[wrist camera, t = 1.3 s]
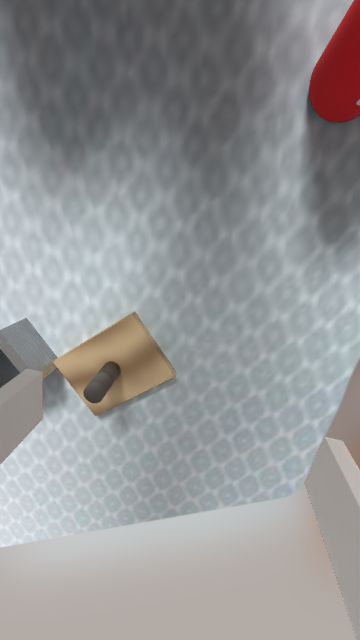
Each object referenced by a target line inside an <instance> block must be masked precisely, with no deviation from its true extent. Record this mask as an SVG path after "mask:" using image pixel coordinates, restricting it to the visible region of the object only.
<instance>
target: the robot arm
mask: <svg viewBox="0 0 360 640" xmlns="http://www.w3.org/2000/svg"><path fill="white" fill-rule="evenodd" d="M42 419H43V372H41V371H37V370H33V369H28V368H27V369H26V370H24V371H23V372H22V373H20V374H19V375H17V376H16V377H15V378H13V379H12V380H11V381H9V382H8V383H7V384H5V385H4V386H2V387H1V388H0V464H1V463H2V462H3V461H4V460H5V459H6V458H7V457H8V456H9V455H10V454H11V452H12V451H13V450H14V449H15V448H16V447H17V446H18V445H19V444H20V443H21V442H22V441H23V439H24V438H25V437H26V436H27V435H28V434H29V433H30V432H31V431H32V430H33V429H34V428H35V426H36V425H37V424H38V423H39V422H40V421H41V420H42ZM305 486H306V489H307V492H308V495H309V498H310V500H311V504H312V507H313V510H314V512H315V516H316V519H317V521H318V525H319V528H320V531H321V534H322V537H323V540H324V543H325V546H326V549H327V552H328V555H329V558H330V561H331V564H332V567H333V570H334V573H335V576H336V579H337V582H338V585H339V588H340V591H341V594H342V597H343V600H344V603H345V606H346V609H347V612H348V615H349V618H350V621H351V624H352V627H353V630H354V633H355V636H356V639H357V640H360V470H359V469H358V467H357V466H356V463H355V462H354V460H353V459H352V457H351V455H350V453H349V451H348V450H347V448H346V446H345V444H344V443H343V441H341V440H336V439H332V438H328V437H324V439H323V442H322V444H321V446H320V448H319V451H318V453H317V455H316V458H315V460H314V462H313V464H312V467H311V469H310V471H309V473H308V476H307V478H306V480H305Z"/></svg>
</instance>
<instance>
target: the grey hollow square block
mask: <svg viewBox="0 0 360 640" xmlns="http://www.w3.org/2000/svg"><path fill="white" fill-rule="evenodd" d="M56 359H57V357H56V356H55V354H54V353H53V352H52V350H51V349H50V348H49V347H48V345H47V344H46V343H45V341H44V340H43V339H42V338H41V336H40V335H39V334H38V332H37V331H36V330H35V329H34V327H33V326H32V325H31V323H30V322H29V321H28V320H27V318H25V319H23V320H21V321H19V322H16V323H14V324H12V325H10V326H8V327H6V328H4V329H2V330H0V388H1V387H2V386H4V385H5V384H7V383H8V382H9V381H11V380H12V379H13V378H15V377H16V376H17V375H19V374H20V373H22V372H23V371H24V370H26V369H27V368H28V369H33V370H37V371H41V372H43V380H44V379H45V378H46V377H47V376H48V375H49V374H51V373H52V372H53V371H54V370H55V369H56V368H57V367H56V365H55V364H54V363H53V361H55V360H56Z"/></svg>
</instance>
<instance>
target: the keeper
mask: <svg viewBox="0 0 360 640" xmlns="http://www.w3.org/2000/svg"><path fill="white" fill-rule="evenodd" d="M53 363H54V364H55V365H56V367H57V368H58V369H59V371H60V372H61V373H62V374H63V376H64V377H65V378H66V379H67V381H68V382H69V383H70V385H71V386H72V387H73V388H74V390H75V391H76V392H77V393H78V395H79V396H80V397H81V399H82V400H83V401H84V402H85V404H86V405H87V406H88V407H89V409H90V410H91V411H92V412H93V414H94V415H95V416H96V415H98V414H100V413H102V412H104V411H106V410H108V409H110V408H112V407H114V406H117V405H119V404H121V403H123V402H125V401H127V400H129V399H131V398H133V397H135V396H137V395H139V394H141V393H143V392H145V391H147V390H149V389H151V388H153V387H155V386H157V385H159V384H161V383H163V382H165V381H167V380H169V379H171V378H173V377H175V374H176V372H175V370H174V369H173V367H172V366H171V364H170V363H169V361H168V360H167V358H166V357H165V355H164V354H163V352H162V351H161V350H160V348H159V347H158V345H157V344H156V342H155V341H154V339H153V338H152V336H151V335H150V333H149V332H148V330H147V329H146V327H145V326H144V324H143V323H142V322H141V320H140V319H139V317H138V316H137V314H136V313H135V312H133V313H132V314H130V315H128V316H127V317H125V318H123V319H122V320H120V321H118V322H117V323H115V324H113V325H112V326H110V327H108V328H107V329H105V330H103V331H102V332H100V333H98V334H97V335H95V336H93V337H92V338H90V339H88V340H87V341H85V342H84V343H82V344H80V345H79V346H77V347H75V348H74V349H72V350H70V351H69V352H67V353H65V354H64V355H62V356H60V357H59V358H57V359H56V360H55V361H53Z"/></svg>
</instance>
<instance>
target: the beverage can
mask: <svg viewBox="0 0 360 640" xmlns="http://www.w3.org/2000/svg"><path fill="white" fill-rule="evenodd" d="M309 93H310V100H311V103H312V105H313V108H314V109H315V111H316V112H317V113H318V114H319V115H320V116H321V117H322V118H324V119H326V120H328V121H331V122H346V121H349V120H352V119H354V118H356V117H358V116H359V115H360V0H354V1H353V3H352V5H351V6H350V8H349V10H348V11H347V13H346V15H345V16H344V18H343V20H342V22H341V23H340V25H339V27H338V28H337V30H336V32H335V33H334V35H333V37H332V38H331V40H330V42H329V44H328V45H327V47H326V49H325V50H324V52H323V54H322V55H321V57H320V59H319V61H318V62H317V64H316V66H315V68H314V70H313V73H312V76H311V80H310V87H309Z"/></svg>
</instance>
